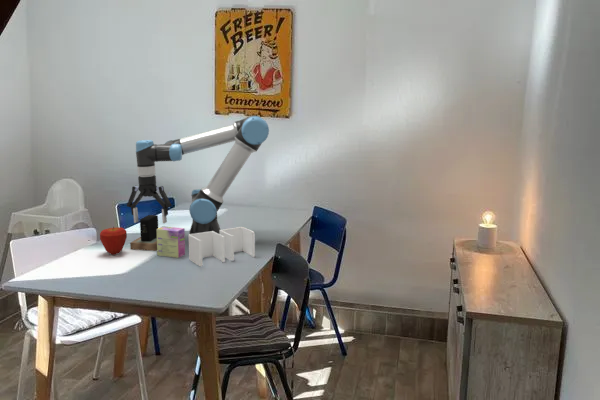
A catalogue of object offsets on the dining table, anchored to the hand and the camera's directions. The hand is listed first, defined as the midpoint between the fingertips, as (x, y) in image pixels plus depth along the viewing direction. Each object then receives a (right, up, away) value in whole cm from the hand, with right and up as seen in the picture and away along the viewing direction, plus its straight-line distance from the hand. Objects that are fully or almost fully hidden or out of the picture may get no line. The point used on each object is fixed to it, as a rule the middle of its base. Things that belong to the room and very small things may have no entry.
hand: (150, 222), depth 260 cm
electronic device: (-1, -8, +1) cm, 8 cm away
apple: (-13, -13, -10) cm, 21 cm away
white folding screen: (+34, -15, -16) cm, 41 cm away
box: (+12, -14, -12) cm, 22 cm away
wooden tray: (-1, -11, +2) cm, 11 cm away
